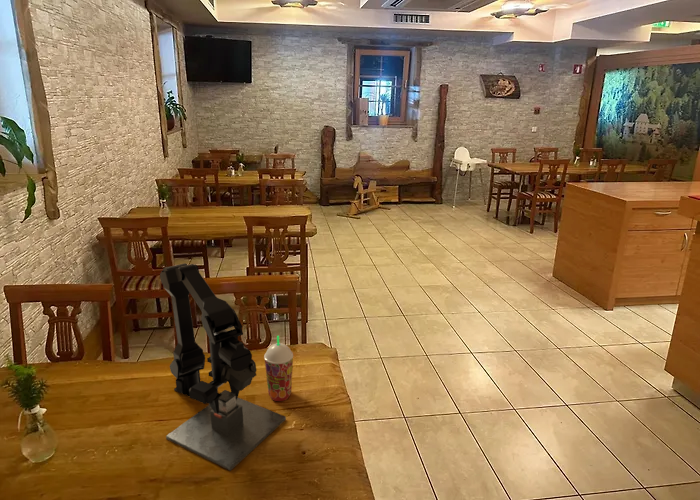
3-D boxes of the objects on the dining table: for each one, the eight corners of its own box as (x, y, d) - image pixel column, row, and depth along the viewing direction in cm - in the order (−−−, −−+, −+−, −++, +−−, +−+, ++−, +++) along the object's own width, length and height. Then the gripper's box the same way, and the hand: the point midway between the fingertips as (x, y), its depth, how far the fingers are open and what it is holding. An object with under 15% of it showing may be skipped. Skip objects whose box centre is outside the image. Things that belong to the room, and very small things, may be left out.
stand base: (226, 395, 143) (224, 376, 141) (285, 419, 133) (285, 399, 131) (166, 439, 125) (163, 418, 123) (230, 470, 114) (228, 448, 112)
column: (227, 418, 131) (225, 389, 128) (237, 423, 129) (235, 393, 126) (217, 426, 128) (215, 396, 125) (227, 430, 126) (225, 401, 123)
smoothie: (260, 400, 141) (257, 339, 135) (275, 385, 148) (272, 327, 142) (285, 407, 138) (283, 345, 132) (299, 391, 145) (297, 332, 139)
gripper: (219, 381, 110) (223, 437, 115) (270, 346, 126) (272, 396, 130) (184, 367, 115) (190, 421, 120) (238, 335, 131) (241, 384, 136)
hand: (226, 405), depth 126 cm, fingers open, 7 cm apart
